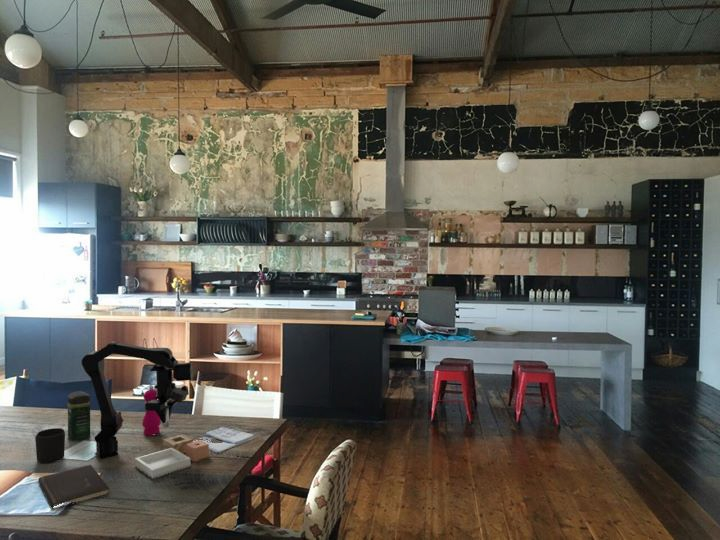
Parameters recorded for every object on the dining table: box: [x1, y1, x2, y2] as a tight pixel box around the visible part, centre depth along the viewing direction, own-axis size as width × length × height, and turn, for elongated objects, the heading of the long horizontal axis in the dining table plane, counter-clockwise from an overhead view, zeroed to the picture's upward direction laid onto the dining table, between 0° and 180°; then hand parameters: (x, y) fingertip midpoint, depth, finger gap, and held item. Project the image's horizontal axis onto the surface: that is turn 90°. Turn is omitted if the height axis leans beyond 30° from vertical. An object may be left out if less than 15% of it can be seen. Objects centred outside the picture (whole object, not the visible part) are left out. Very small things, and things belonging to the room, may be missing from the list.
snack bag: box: [193, 426, 255, 454], centre depth 211 cm, size 19×20×2 cm
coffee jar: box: [67, 390, 91, 441], centre depth 212 cm, size 10×8×19 cm
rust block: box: [185, 440, 210, 462], centre depth 194 cm, size 6×6×5 cm
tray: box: [134, 448, 192, 480], centre depth 186 cm, size 14×14×3 cm
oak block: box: [162, 433, 194, 454], centre depth 201 cm, size 8×8×4 cm
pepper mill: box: [141, 385, 162, 436], centre depth 218 cm, size 7×7×20 cm
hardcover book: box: [37, 464, 110, 509], centre depth 169 cm, size 16×23×2 cm
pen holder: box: [34, 427, 66, 465], centre depth 191 cm, size 9×9×10 cm
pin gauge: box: [162, 408, 170, 428], centre depth 198 cm, size 2×2×8 cm
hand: (165, 421), depth 199 cm, fingers closed on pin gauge, 2 cm apart
